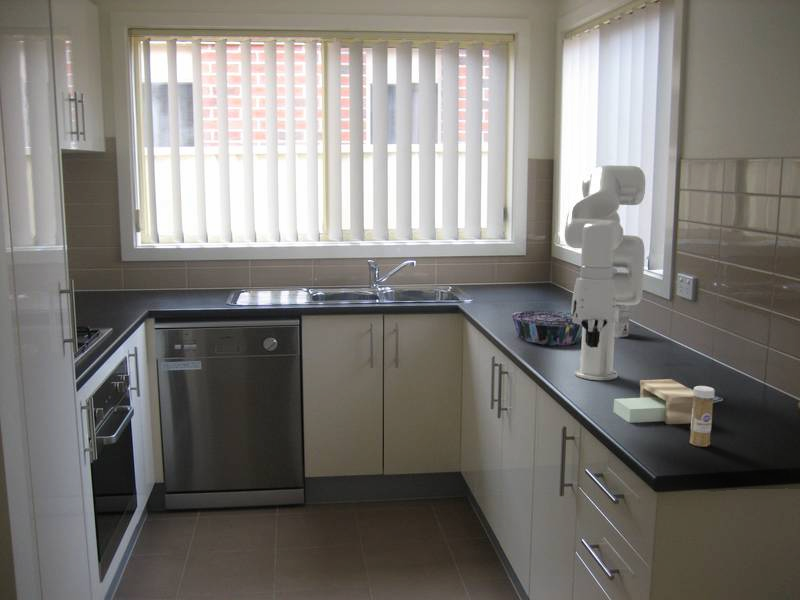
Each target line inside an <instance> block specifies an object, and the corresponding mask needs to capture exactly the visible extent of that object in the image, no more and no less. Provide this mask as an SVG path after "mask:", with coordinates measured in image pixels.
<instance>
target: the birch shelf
mask: <svg viewBox="0 0 800 600" xmlns="http://www.w3.org/2000/svg"><path fill="white" fill-rule="evenodd" d="M639 387H640V389H639V390H640V391H639V392H640V393H639V398H646V397H660V398H662V399H664V400H665V401H666V415H665V421H664V423H665V424H667V425H680V424H681V425H683V424H691V420H692V408H693V400H694V397H693V396H694V395H693V390H694V389H693V390H691V389H692V388H690V389H689V387H687V386H685V385H683V384H682V383H681V382H678V381H676V380H675V379H672V378H667V379H666V378H665V379H644V380H643V379H640V381H639Z"/></svg>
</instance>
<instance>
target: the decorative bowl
mask: <svg viewBox="0 0 800 600" xmlns="http://www.w3.org/2000/svg"><path fill="white" fill-rule="evenodd" d="M510 316H511V317H512V320H513V322H514V326H515V329H516V332H517V335H518V337H519V338H521V339H523V340H524V341H526V342H529V343H533V344H538V345H543V346H544V345H545V346H573V345H574V344H577V343H578V342H579V340H580V338H581V337H582V325H579V324H575V323H573V322H572V320H573V315H572V313H571V312H567V311H566V312H562V311H556V310H555V311H554V310H527V311H526V310H525V311H518V312H514V313H512V314H511V315H510ZM581 320H582V319H581Z"/></svg>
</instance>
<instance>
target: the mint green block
mask: <svg viewBox="0 0 800 600" xmlns="http://www.w3.org/2000/svg"><path fill="white" fill-rule="evenodd" d="M613 413H614V414H615V415H617V416H619V417H620V418H621V419H623V420H625V421H626V422H628V423H630V424H631V423H633V424H634V423H649V422H650V423H652V422H665V415H666V401H665V400H664V399H662V398H660V397H646V398H640V397H628V398H614V399H613Z"/></svg>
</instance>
